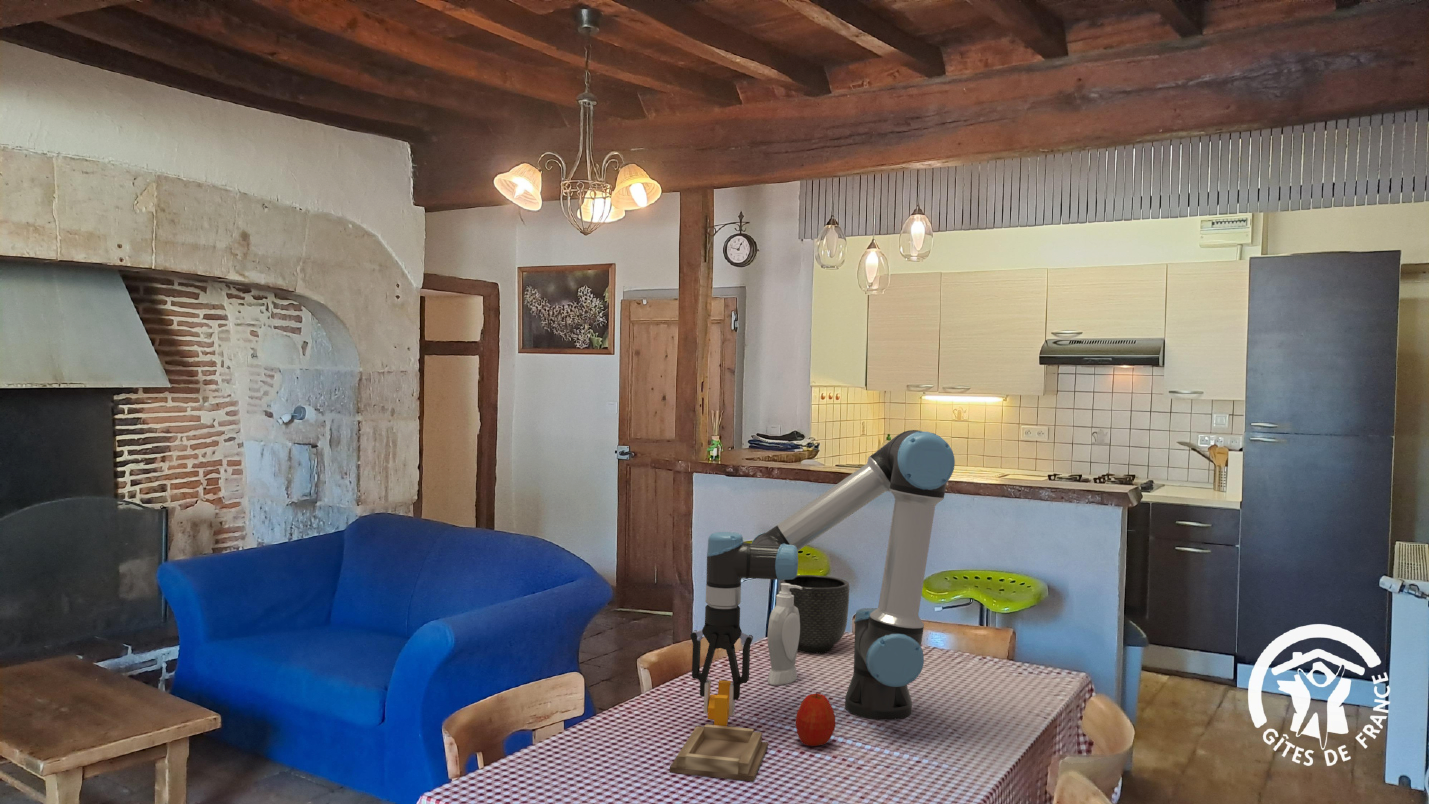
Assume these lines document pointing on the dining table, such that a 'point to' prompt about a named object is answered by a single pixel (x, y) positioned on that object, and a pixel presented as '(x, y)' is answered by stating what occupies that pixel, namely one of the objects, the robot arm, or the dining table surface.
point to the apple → (815, 720)
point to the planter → (820, 610)
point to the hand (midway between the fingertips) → (719, 712)
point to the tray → (721, 753)
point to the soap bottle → (783, 637)
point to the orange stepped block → (720, 704)
